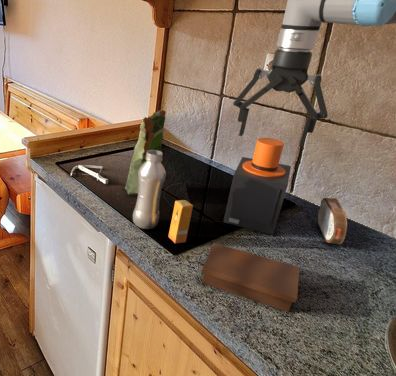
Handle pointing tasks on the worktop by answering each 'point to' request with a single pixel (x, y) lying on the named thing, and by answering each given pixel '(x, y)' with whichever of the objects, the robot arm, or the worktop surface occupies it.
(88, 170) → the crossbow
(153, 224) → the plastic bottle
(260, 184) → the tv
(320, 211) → the tin
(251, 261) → the stand
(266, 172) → the hat
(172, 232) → the supplement box
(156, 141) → the pouch
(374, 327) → the worktop surface
